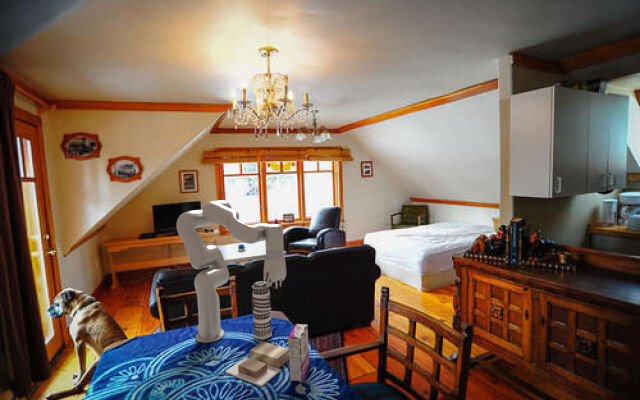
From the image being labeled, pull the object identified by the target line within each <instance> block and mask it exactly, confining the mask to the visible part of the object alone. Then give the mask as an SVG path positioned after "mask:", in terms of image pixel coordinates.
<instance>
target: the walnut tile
mask: <svg viewBox="0 0 640 400" xmlns="http://www.w3.org/2000/svg"><path fill="white" fill-rule="evenodd" d="M247 358H248V357H247ZM266 371H267V364H266V363H263V362H260V361H257V360H254V359H251V358H250V357H249V358H248V359H247V360H245V361H244V362H242V363H241V364H239V365H238V372H240V373H243V374H246V375H248V376H251V377H254V378H256V379H257V378H258V377H259V376H260V375H262V374H263V373H264V372H266Z"/></svg>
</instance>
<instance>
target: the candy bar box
mask: <svg viewBox="0 0 640 400" xmlns="http://www.w3.org/2000/svg"><path fill="white" fill-rule="evenodd" d="M287 342H288V343H287V344H288V348H287V349H289V360H288V363H289V381H292V382H300V383H301V382H303V381H304V380H305V379H304V378H305V377H306V374H307V371H308V370H309V367H310V349H309V329H308V324H305V323H304V324H303V323H296V324H295V325H294V327H293V329H292V330H291V332H290V334H289V335H288V337H287Z"/></svg>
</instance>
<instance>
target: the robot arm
mask: <svg viewBox="0 0 640 400" xmlns="http://www.w3.org/2000/svg"><path fill="white" fill-rule="evenodd" d="M239 220H240V213H239V212H238V211H236V210H234V209H232V205H231V204H230V203H229V202H228V201H227V200H222V199H221V200H213V201H211V200H210V201H208V202H206V203H205V204H203V206H202V207H201V209H195V210H188V211H185V212H183V213H181V214H180V215H179V216H178V218H177V220H176V226H175V227H176V231H177V234H178V236H179V238H180V239H181V241H182V243H183V245H184V249H185V252H186V255H187V257H188V259H189V260H188V261H189V262H190V265H191V266H192V268H194V269H195V270H200V269H203V268H207V267H209V268H207V269H205V270H203V271H200V272H199V273H197V275H196V276H195V277H194V281H193V282H194V283H193V285H194V289H195V292H196V297H197V310H198V311H197V313H198V315H197V316H198V324H197V326H195V330H196V331H197V332H198V333H197V334H196V336H195V338H196V339H195V340H196V341H197V342H199V343H205V344H207V343H213V342H217V341H219V340H220V339H222V338H223V337H224V336H225V331H224V329H222V328H221V327H222V325H221V310H220V309H221V308H220V297H219V294H218V292H217V291H216V289H217V288H218V287H221V286H223V285H225V284H226V283H228V281H229V279H230V272H229V270H228V269H229V267H228V266H227V264H226V261H225V257H224V255H223V253H222V250H221V249H220V248H219V247H218V246H216V245H213V244H208V245H205V242H204V240H203V237H202V236H201V234H200V233H199V232H198V231H197V229H201V228H205V227H209V226H212V225H214V224H217V225H219V226H222V227H224V228H226V229H227V231H228V232H229V235H230V236H231V237H233V238H234V239H236V240H238V241H240V242H242V243H244V244H249V245H252V244H255V243H256V244H257V243H259V242H263V241H265V258H264V261H263V262H264V263H263V264H264V265H263V281H265V282H267V286H269V287H270V288H271V292H272V293H271V296H272V297H274V298H279V297H281V296H282V294H281V293H282V292H281V291H282V290H281V287H282V284H283V281H285V279H286V277H287V264H286V258H285V257H286V256H285V251H284V250H285V249H284V246H285V245H284V228H283V227H284V226H283V225H281V224H278V223H276V224H275V223H274V224H273V223H271V224H270V223H265V222H262V223H261V222H260V223H256V224H251V225H248V224H246V223H243V222H242V221H239Z"/></svg>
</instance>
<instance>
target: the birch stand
mask: <svg viewBox="0 0 640 400" xmlns="http://www.w3.org/2000/svg"><path fill="white" fill-rule="evenodd" d="M249 354H250V355H249V358H251V359H254V360H257V361H260V362H263V363H266V364H267V365H269V366H272V367H275V368H278V369H280V368H281V367H283V365H284V364H286V363H287V362H289V348H286V347H283V346H280V345H277V344H272V343H270V342H265V341H262V342H260V343H259V344H257V345H256V346H254V347H252V348H251V349H249Z"/></svg>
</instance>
